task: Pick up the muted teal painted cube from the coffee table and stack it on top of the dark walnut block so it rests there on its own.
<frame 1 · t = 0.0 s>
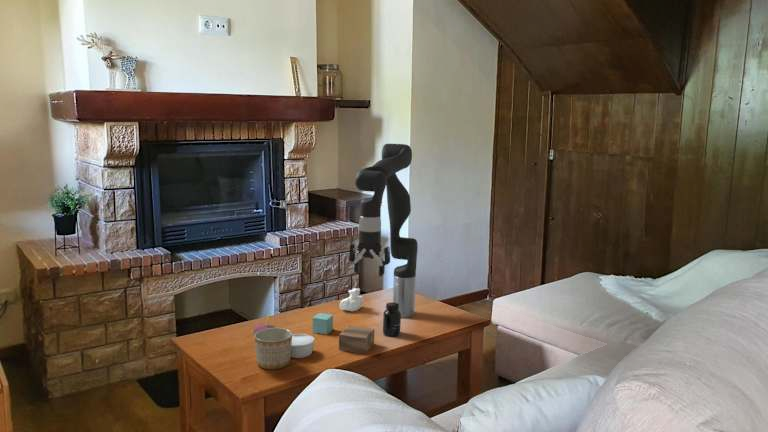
hand: (369, 274, 210), 29 cm above the table, tool pointing down, fingers open, 8 cm apart
duck figurine: (352, 310, 261), on the table
planter: (273, 364, 206), on the table
walnut block: (356, 347, 221), on the table
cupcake: (264, 343, 223), on the table
teal cube: (322, 330, 236), on the table
supplement bottle: (391, 334, 235), on the table
ramekin: (298, 353, 215), on the table
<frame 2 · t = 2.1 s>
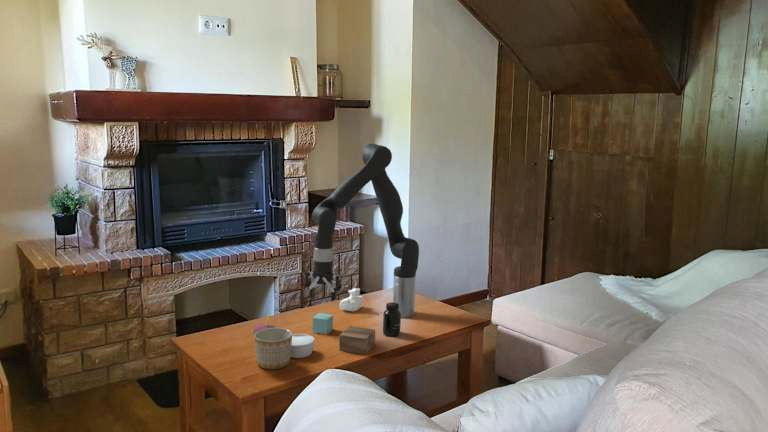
hand: (322, 299, 234), 13 cm above the table, tool pointing down, fingers open, 8 cm apart
nothing on the table moved.
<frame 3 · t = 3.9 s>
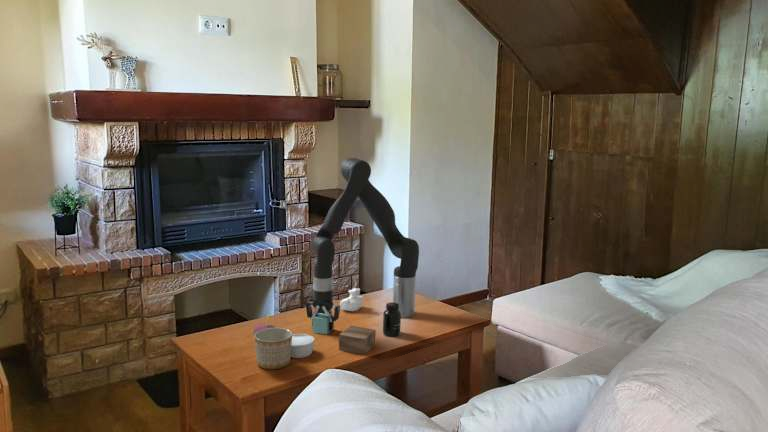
hand: (322, 329, 236), 1 cm above the table, tool pointing down, fingers closed on teal cube, 6 cm apart
teal cube: (322, 330, 236), on the table, touching gripper
everything else where it was.
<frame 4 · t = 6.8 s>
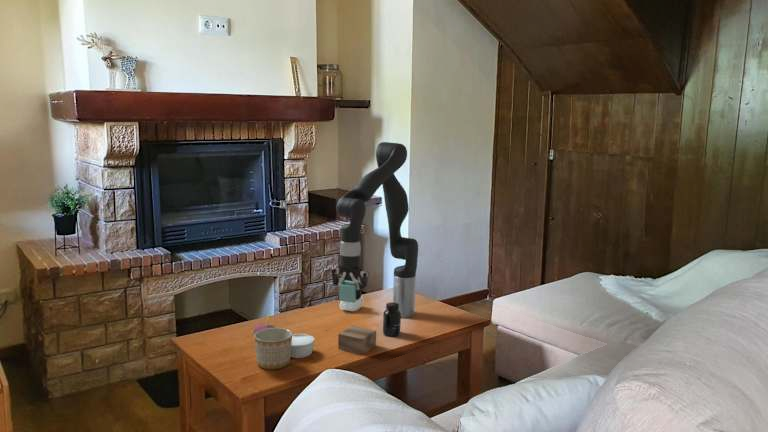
hand: (349, 297, 221), 18 cm above the table, tool pointing down, fingers closed on teal cube, 6 cm apart
teal cube: (349, 299, 221), point 17 cm above the table, touching gripper
everything else where it was.
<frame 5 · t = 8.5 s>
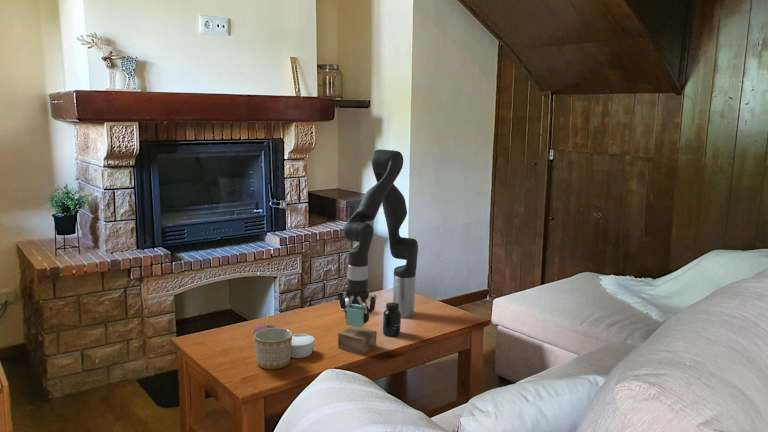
hand: (357, 321, 220), 10 cm above the table, tool pointing down, fingers closed on teal cube, 6 cm apart
teal cube: (357, 323, 220), point 9 cm above the table, touching gripper
when the fingers open (8 cm above the table, at t = 9.8 s): teal cube drops 2 cm, point 6 cm above the table.
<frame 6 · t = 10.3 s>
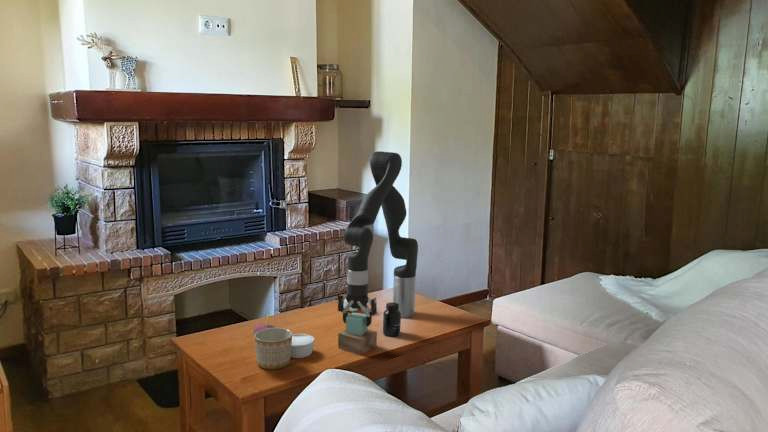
hand: (357, 324, 220), 9 cm above the table, tool pointing down, fingers open, 8 cm apart
teal cube: (356, 331, 220), point 6 cm above the table
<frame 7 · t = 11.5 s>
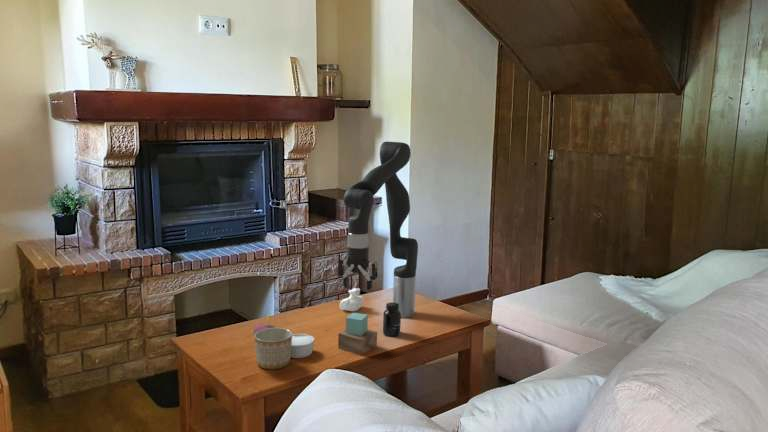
hand: (357, 288, 218), 22 cm above the table, tool pointing down, fingers open, 8 cm apart
walnut block: (357, 348, 221), on the table, touching teal cube
teal cube: (356, 331, 220), point 6 cm above the table, touching walnut block
everything else where it was.
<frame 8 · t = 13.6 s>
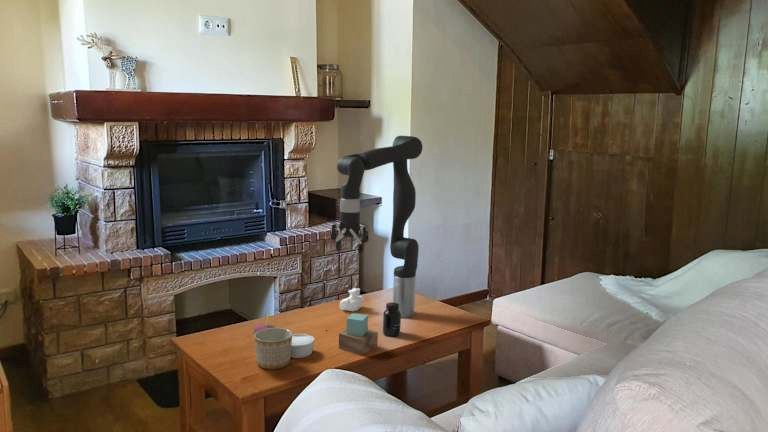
hand: (349, 252, 229), 32 cm above the table, tool pointing down, fingers open, 8 cm apart
walnut block: (358, 348, 221), on the table
teal cube: (357, 332, 220), point 6 cm above the table
everything else where it was.
at the end: teal cube inside the target area on the walnut block (0.4 cm from its centre), point 6.0 cm above the walnut block's base; teal cube tilted 0°; the gripper is holding nothing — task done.
